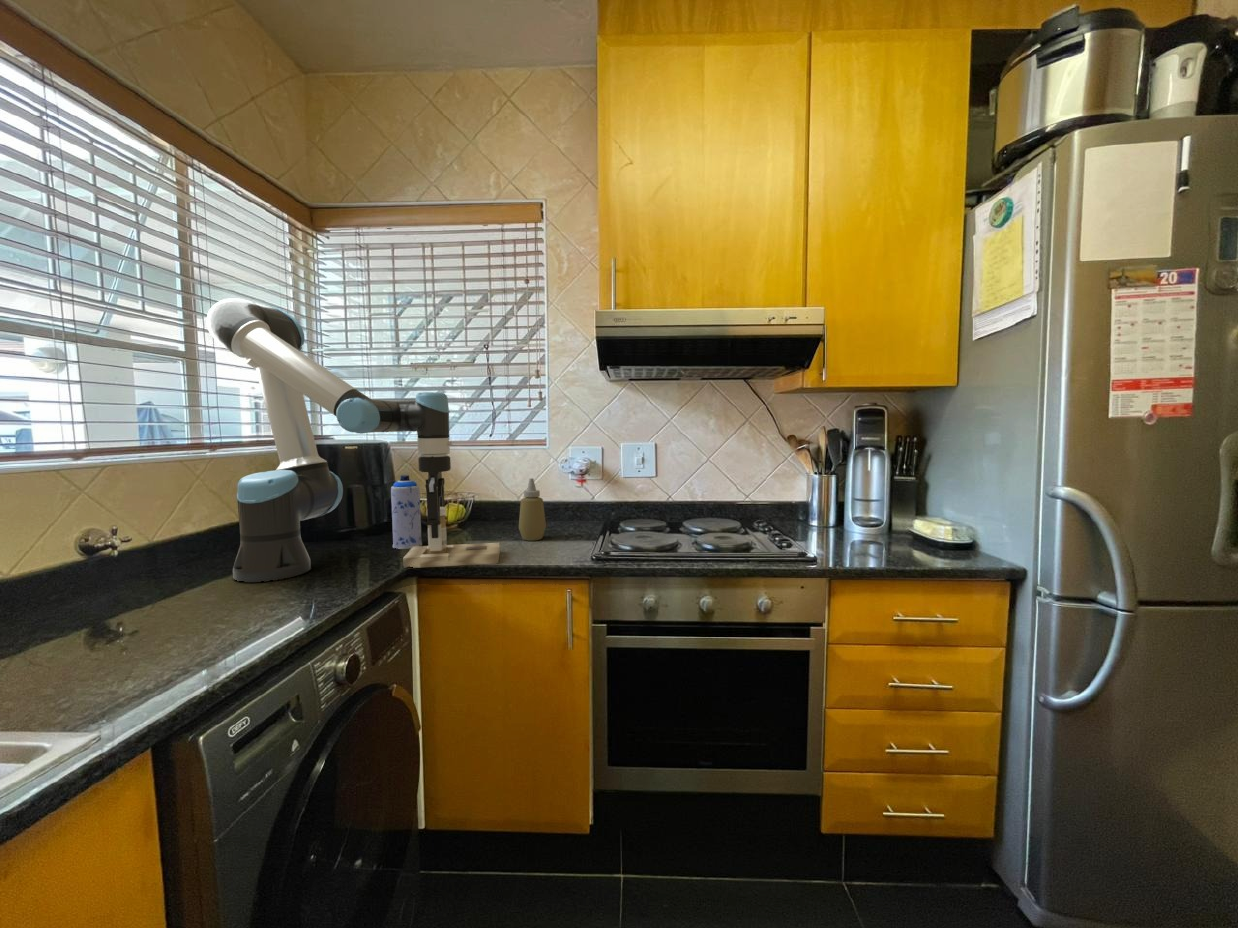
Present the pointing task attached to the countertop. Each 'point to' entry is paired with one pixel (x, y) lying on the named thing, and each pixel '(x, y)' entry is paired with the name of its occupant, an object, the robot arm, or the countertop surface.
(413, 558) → the holder block
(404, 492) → the aerosol can
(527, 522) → the squeeze bottle
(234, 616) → the countertop surface
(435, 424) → the robot arm
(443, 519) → the sprinkles bottle
